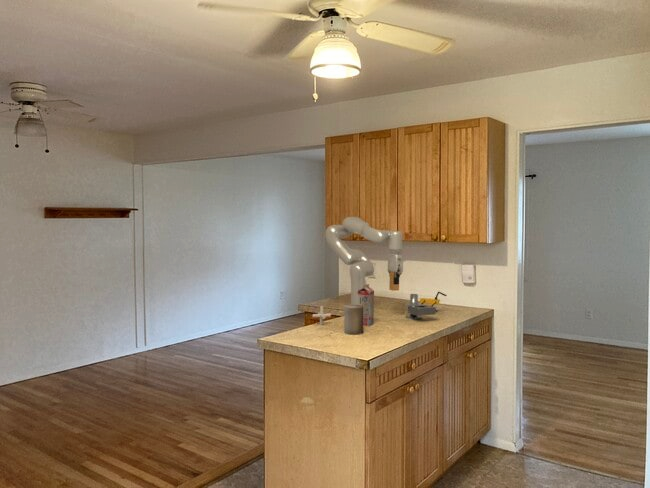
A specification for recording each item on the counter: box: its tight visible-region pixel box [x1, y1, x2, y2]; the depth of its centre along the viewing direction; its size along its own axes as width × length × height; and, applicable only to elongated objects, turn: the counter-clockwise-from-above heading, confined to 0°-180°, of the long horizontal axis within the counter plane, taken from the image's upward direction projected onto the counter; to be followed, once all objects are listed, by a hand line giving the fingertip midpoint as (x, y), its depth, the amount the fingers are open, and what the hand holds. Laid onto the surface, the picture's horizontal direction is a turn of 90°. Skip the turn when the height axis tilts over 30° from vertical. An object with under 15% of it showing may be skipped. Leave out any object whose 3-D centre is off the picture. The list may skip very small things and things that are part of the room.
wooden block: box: [388, 271, 400, 292], centre depth 292 cm, size 4×4×12 cm
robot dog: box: [418, 291, 447, 313], centre depth 315 cm, size 6×18×13 cm, turn 61°
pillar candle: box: [343, 304, 364, 335], centre depth 255 cm, size 10×10×15 cm
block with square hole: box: [404, 293, 437, 320], centre depth 292 cm, size 12×18×14 cm, turn 24°
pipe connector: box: [311, 305, 332, 326], centre depth 274 cm, size 10×10×10 cm
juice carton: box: [358, 283, 375, 327], centre depth 274 cm, size 7×7×22 cm
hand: (394, 283), depth 292 cm, fingers closed on wooden block, 4 cm apart
